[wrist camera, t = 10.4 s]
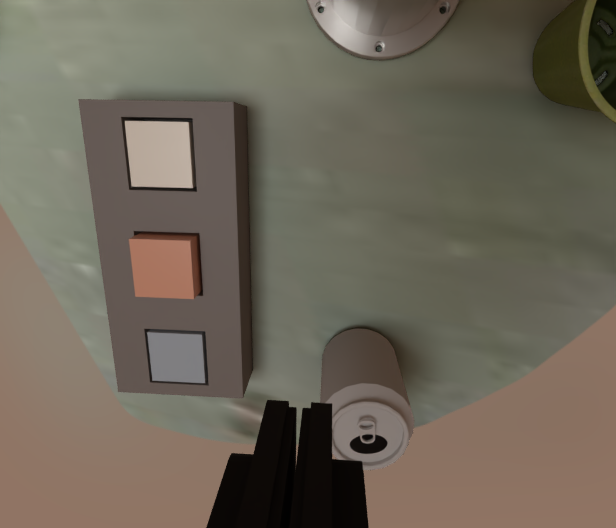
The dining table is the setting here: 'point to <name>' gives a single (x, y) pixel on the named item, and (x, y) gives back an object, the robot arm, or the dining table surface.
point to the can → (366, 399)
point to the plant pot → (579, 57)
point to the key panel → (175, 218)
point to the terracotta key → (166, 264)
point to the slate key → (178, 355)
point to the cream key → (161, 154)
